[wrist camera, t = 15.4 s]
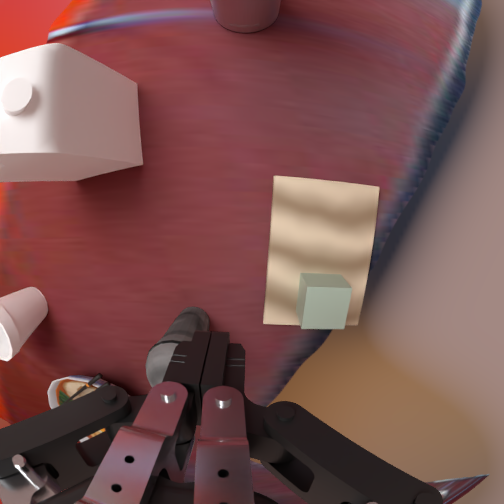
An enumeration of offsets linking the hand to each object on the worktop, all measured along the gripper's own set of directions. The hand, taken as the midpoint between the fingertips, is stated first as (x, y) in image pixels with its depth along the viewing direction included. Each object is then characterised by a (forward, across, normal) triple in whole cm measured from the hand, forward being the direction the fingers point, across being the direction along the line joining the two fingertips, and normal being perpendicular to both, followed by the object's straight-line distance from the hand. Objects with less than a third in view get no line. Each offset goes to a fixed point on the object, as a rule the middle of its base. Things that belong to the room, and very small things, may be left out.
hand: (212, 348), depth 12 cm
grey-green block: (+25, -11, +8) cm, 28 cm away
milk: (+27, +20, -14) cm, 36 cm away
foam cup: (+26, +37, +14) cm, 48 cm away
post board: (+26, -11, +3) cm, 29 cm away
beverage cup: (+26, +6, +14) cm, 30 cm away
